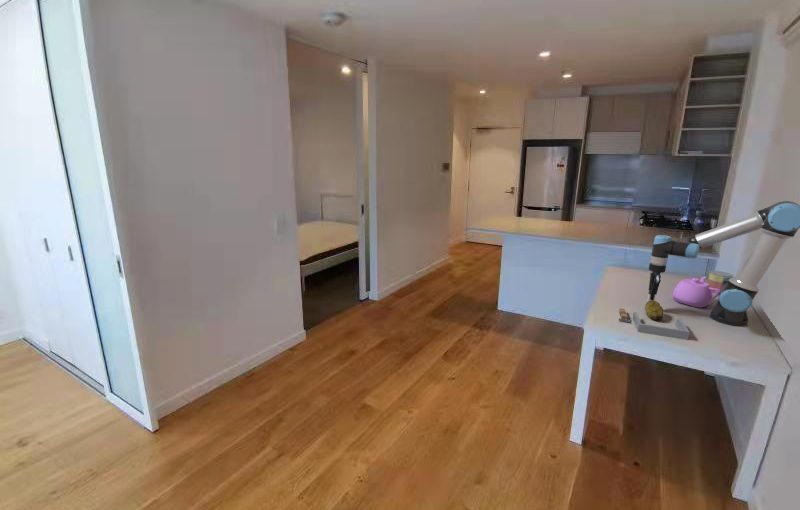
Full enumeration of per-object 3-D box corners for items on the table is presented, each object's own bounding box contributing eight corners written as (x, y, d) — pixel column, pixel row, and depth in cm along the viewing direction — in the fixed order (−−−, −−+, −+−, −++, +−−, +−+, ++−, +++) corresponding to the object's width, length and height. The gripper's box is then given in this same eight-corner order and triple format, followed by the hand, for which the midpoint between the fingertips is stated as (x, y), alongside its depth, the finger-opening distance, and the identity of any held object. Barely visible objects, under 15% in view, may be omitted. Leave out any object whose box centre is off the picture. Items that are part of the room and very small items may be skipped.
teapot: (710, 313, 205) (717, 287, 201) (667, 301, 222) (672, 277, 218) (726, 304, 217) (732, 280, 213) (683, 293, 234) (689, 270, 230)
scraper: (616, 311, 207) (616, 307, 206) (626, 313, 205) (627, 309, 204) (619, 322, 194) (620, 317, 194) (630, 323, 192) (631, 319, 192)
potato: (643, 319, 197) (645, 305, 195) (643, 311, 207) (646, 297, 205) (662, 323, 193) (665, 309, 190) (661, 314, 203) (664, 301, 201)
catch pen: (678, 325, 190) (680, 318, 189) (688, 339, 176) (689, 332, 175) (632, 318, 198) (633, 311, 197) (637, 331, 183) (639, 324, 182)
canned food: (719, 288, 243) (724, 271, 240) (733, 295, 233) (737, 276, 229) (701, 287, 245) (705, 270, 241) (713, 294, 234) (718, 275, 231)
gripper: (647, 260, 209) (640, 299, 215) (652, 266, 197) (644, 307, 203) (663, 261, 206) (655, 301, 212) (669, 268, 194) (660, 310, 201)
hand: (649, 304), depth 208 cm, fingers closed
